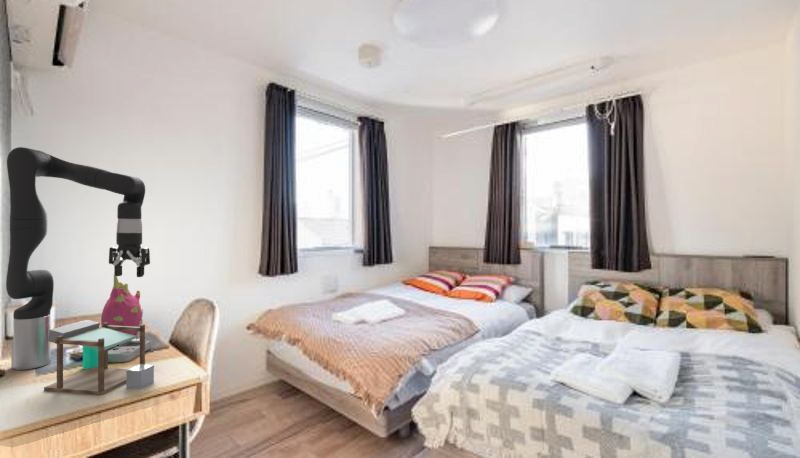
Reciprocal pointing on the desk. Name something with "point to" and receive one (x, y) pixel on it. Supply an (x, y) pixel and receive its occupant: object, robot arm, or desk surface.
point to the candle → (90, 357)
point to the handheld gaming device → (126, 351)
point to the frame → (95, 377)
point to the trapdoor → (90, 334)
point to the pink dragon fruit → (123, 308)
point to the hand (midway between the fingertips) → (129, 276)
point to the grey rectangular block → (139, 376)
